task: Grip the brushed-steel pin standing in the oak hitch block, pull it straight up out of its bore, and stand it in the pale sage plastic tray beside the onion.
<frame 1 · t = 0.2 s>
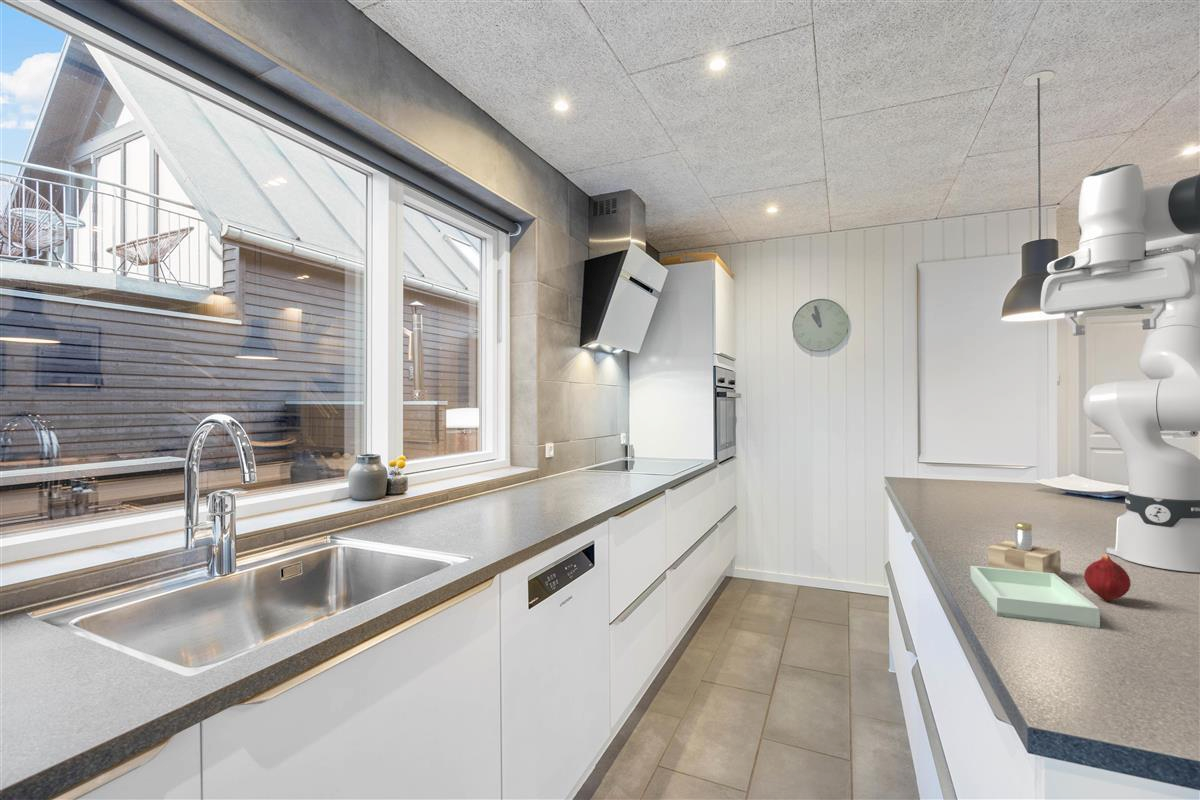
hand: (1112, 332, 97), 47 cm above the counter, fingers open, 8 cm apart
tray: (1027, 601, 93), on the counter
hitch block: (1024, 573, 108), on the counter
onion: (1107, 602, 93), on the counter
steel pin: (1023, 548, 108), in the hitch block
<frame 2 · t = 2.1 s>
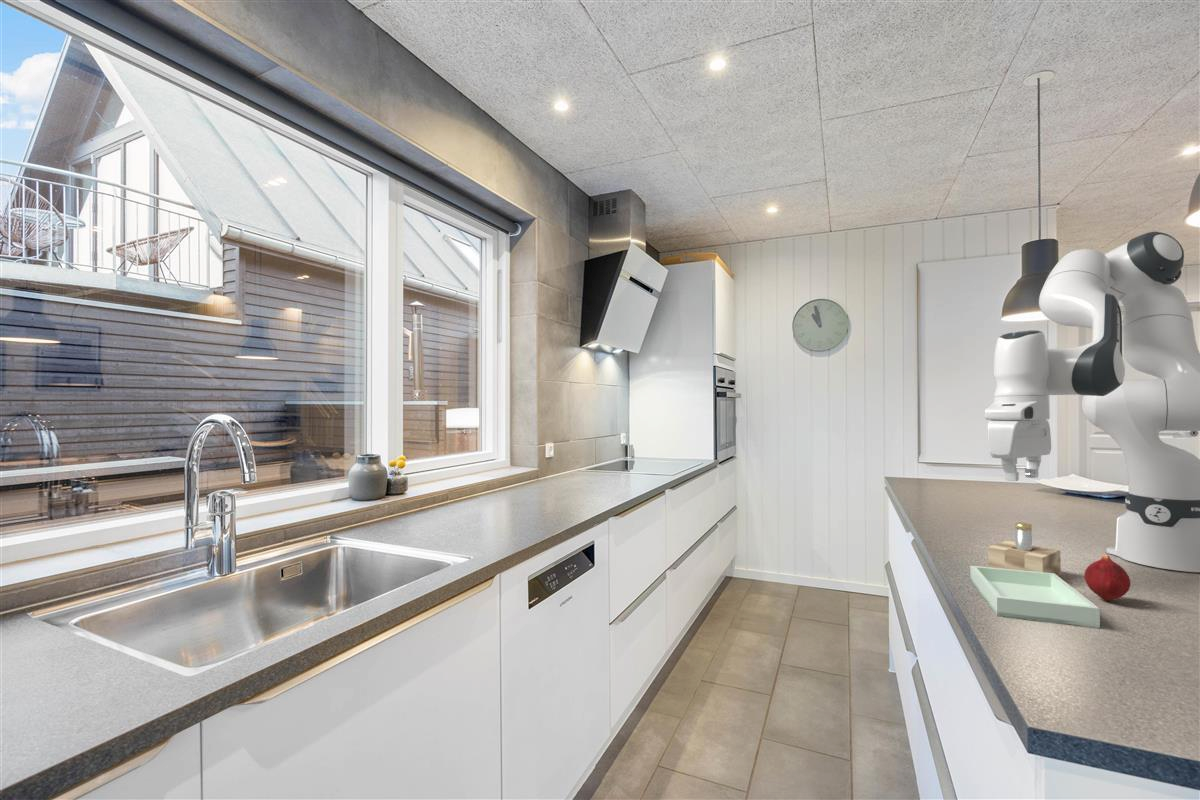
hand: (1022, 479, 108), 19 cm above the counter, fingers open, 8 cm apart
nothing on the counter moved.
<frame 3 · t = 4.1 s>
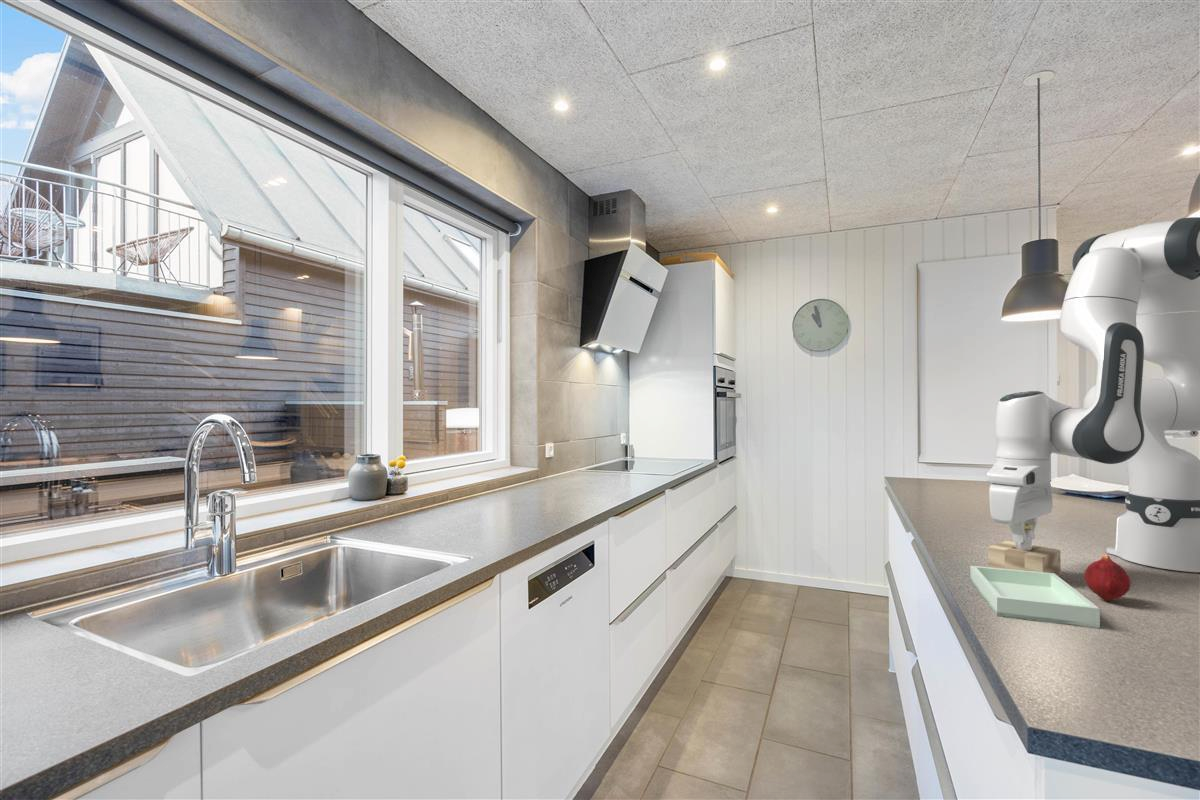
hand: (1023, 540, 108), 7 cm above the counter, fingers closed on steel pin, 3 cm apart
steel pin: (1023, 548, 108), in the hitch block, touching gripper
everything else where it was.
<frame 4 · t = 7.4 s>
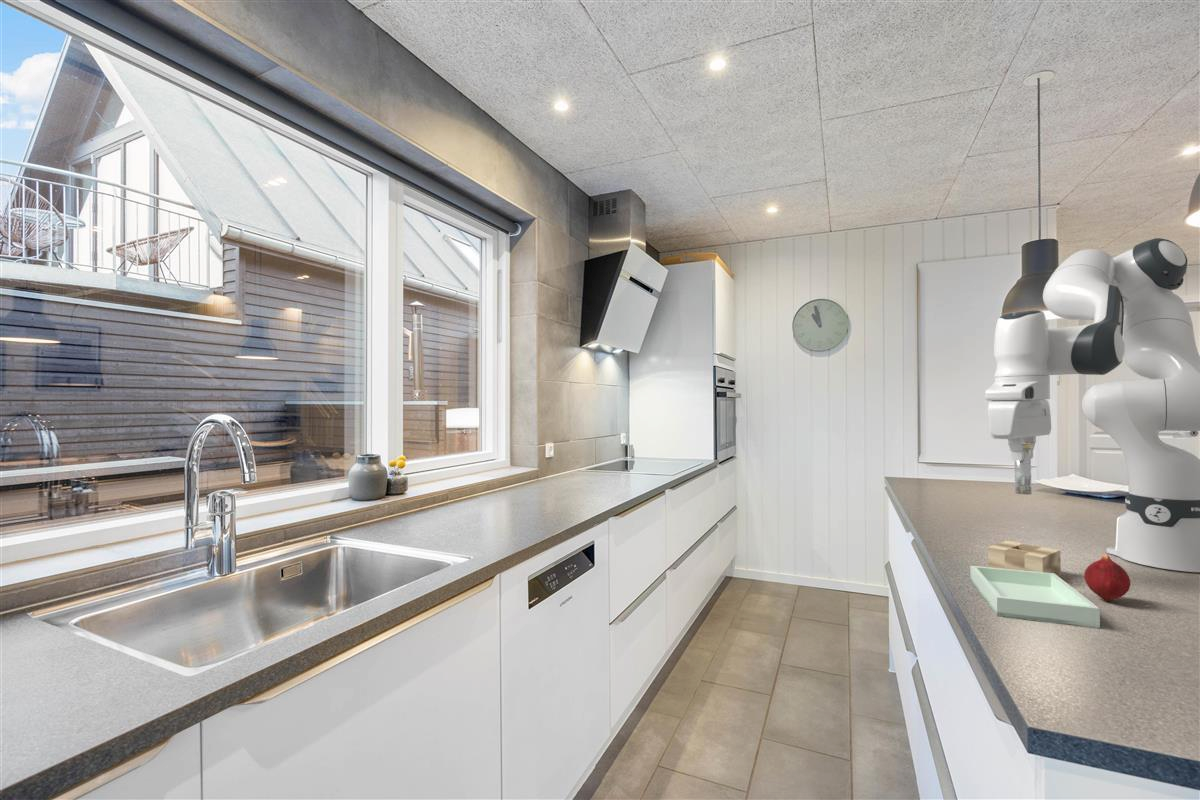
hand: (1022, 459, 108), 23 cm above the counter, fingers closed on steel pin, 3 cm apart
steel pin: (1022, 468, 108), point 21 cm above the counter, touching gripper
everything else where it was.
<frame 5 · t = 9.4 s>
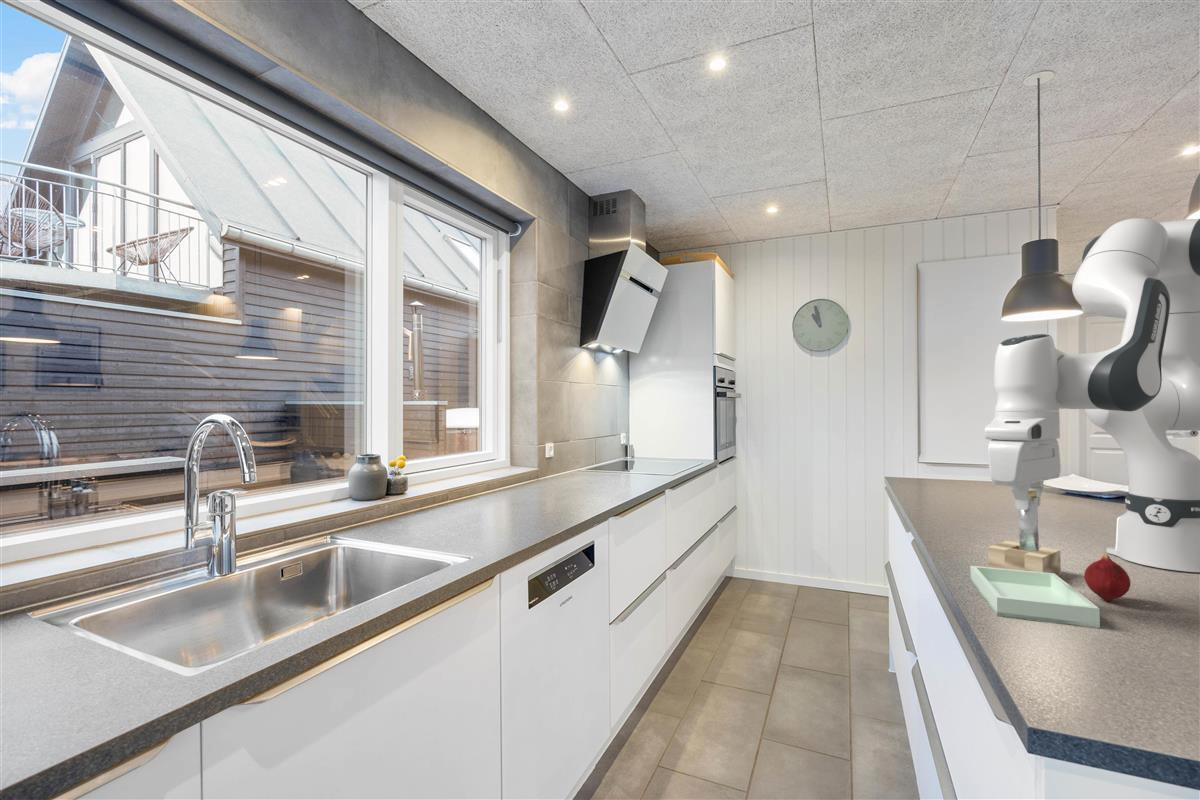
hand: (1028, 508, 93), 16 cm above the counter, fingers closed on steel pin, 3 cm apart
steel pin: (1028, 520, 93), point 14 cm above the counter, touching gripper
everything else where it was.
when the fingers open (8 cm above the counter, at t = 11.1 s): steel pin stays where it is, resting on tray.
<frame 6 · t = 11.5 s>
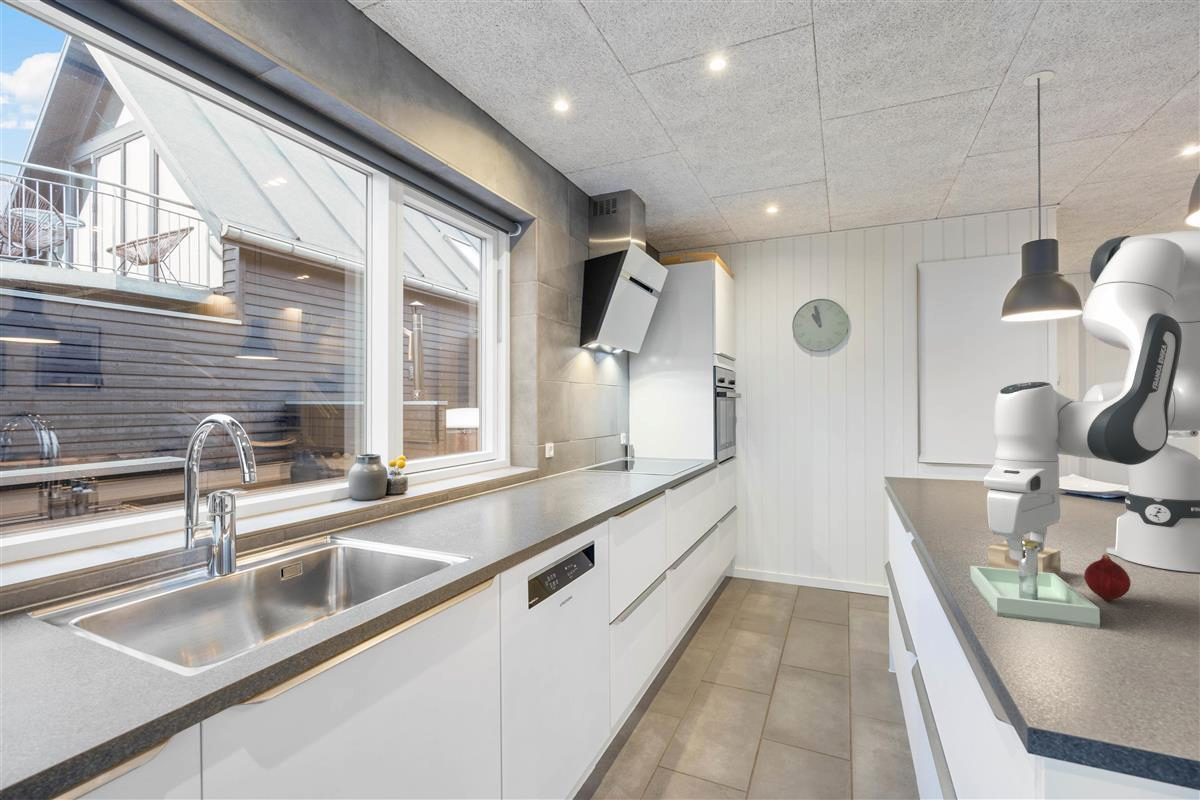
hand: (1027, 555, 93), 8 cm above the counter, fingers open, 6 cm apart
steel pin: (1028, 569, 93), in the tray, point 6 cm above the counter
everything else where it was.
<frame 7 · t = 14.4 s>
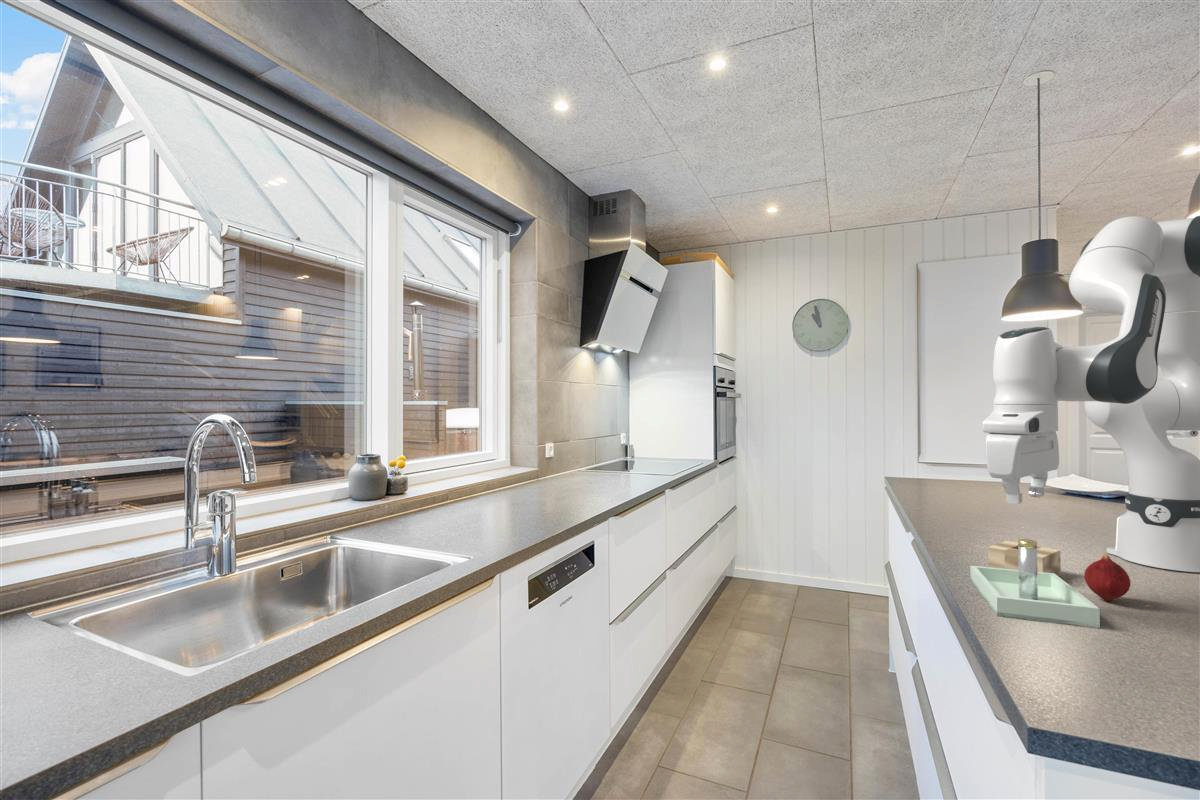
hand: (1025, 500, 93), 18 cm above the counter, fingers open, 8 cm apart
nothing on the counter moved.
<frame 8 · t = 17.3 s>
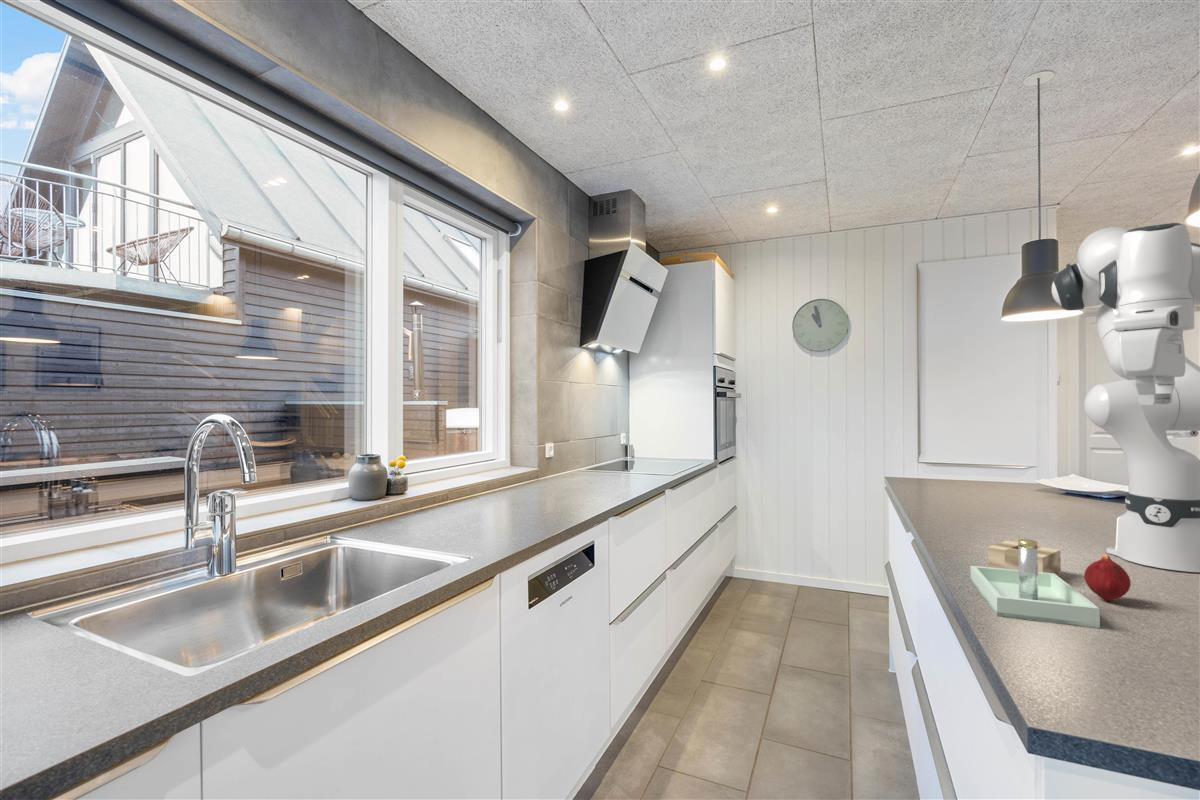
hand: (1155, 404, 89), 34 cm above the counter, fingers open, 8 cm apart
nothing on the counter moved.
at the end: steel pin inside the target area on the tray (0.1 cm from its centre), point 5.6 cm above the tray's base; steel pin touching tray; the gripper is holding nothing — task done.
